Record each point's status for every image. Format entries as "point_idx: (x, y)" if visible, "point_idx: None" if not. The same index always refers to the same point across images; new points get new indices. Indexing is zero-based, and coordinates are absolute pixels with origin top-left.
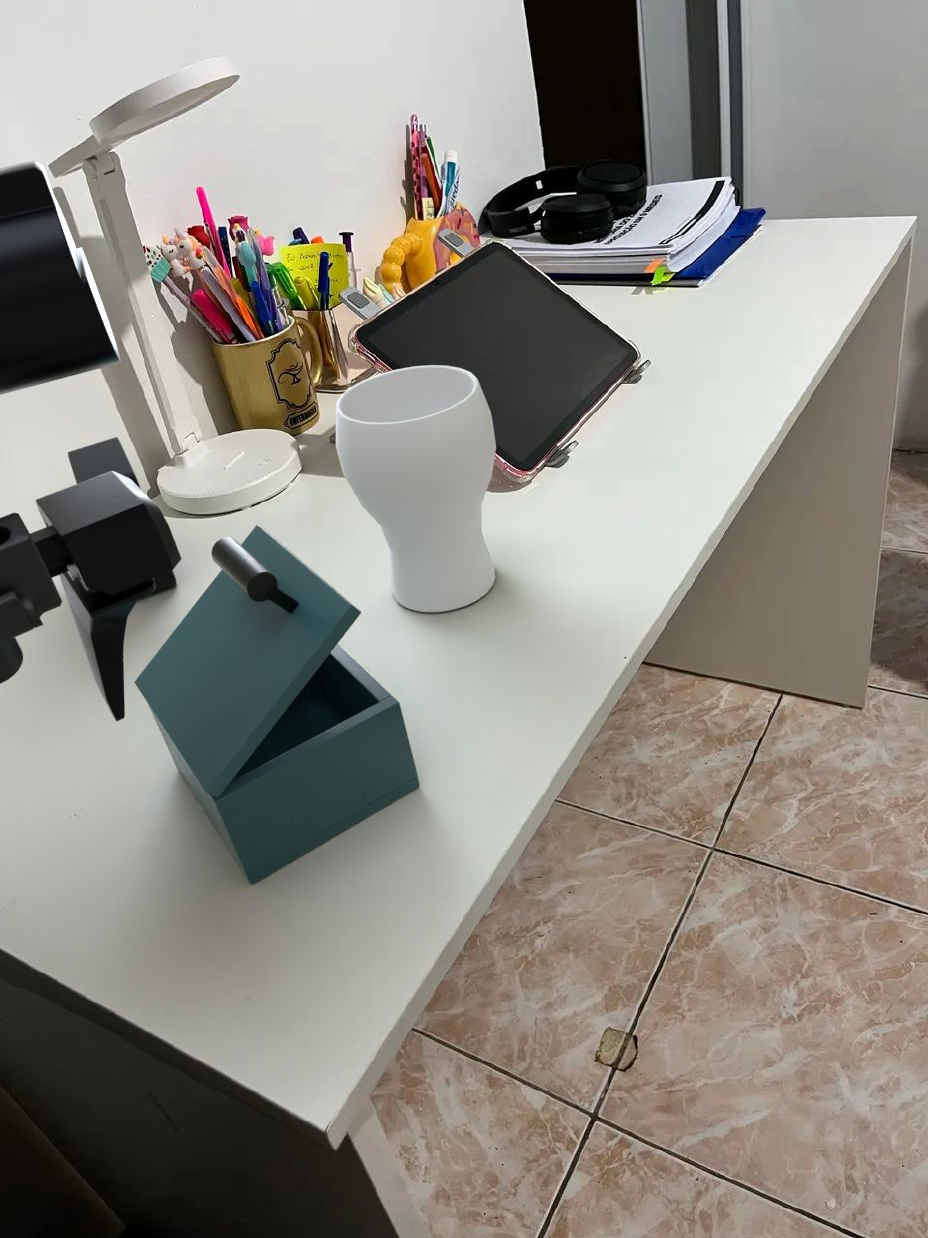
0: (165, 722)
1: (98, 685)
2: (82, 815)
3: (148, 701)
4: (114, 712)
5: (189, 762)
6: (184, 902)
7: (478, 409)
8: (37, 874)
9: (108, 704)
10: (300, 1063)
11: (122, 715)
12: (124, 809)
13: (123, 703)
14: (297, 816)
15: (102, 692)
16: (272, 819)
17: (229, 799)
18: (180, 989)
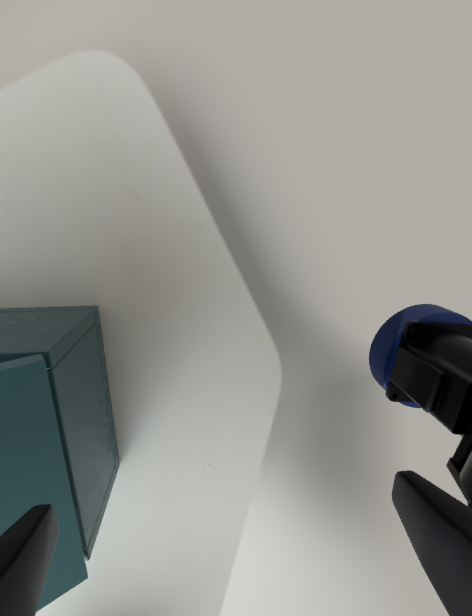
0: (64, 498)
1: (22, 608)
2: (205, 461)
3: (77, 541)
4: (35, 523)
5: (52, 420)
6: (156, 326)
7: None
8: (251, 425)
9: (25, 546)
10: (116, 99)
11: (31, 510)
12: (173, 448)
13: (3, 535)
14: (6, 323)
15: (17, 585)
16: (26, 327)
17: (34, 348)
18: (185, 244)
